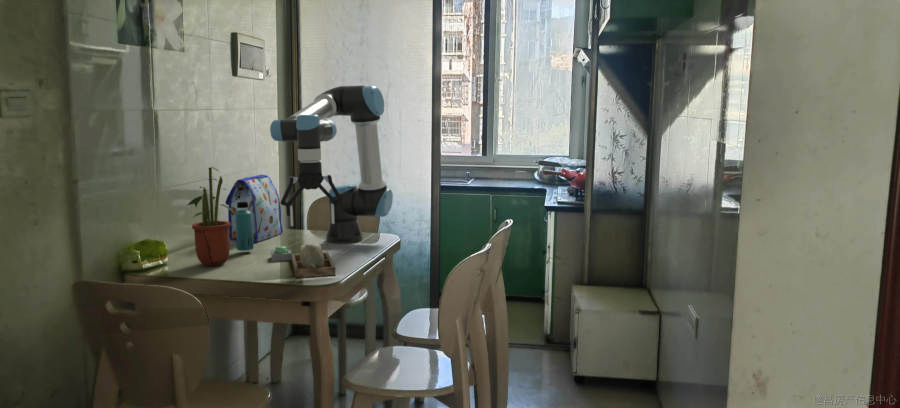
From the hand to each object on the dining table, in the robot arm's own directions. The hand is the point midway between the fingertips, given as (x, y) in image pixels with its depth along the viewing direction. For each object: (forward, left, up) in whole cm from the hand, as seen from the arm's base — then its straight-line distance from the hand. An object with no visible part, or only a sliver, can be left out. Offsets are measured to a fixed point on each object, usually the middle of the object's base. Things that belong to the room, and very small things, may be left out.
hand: (312, 224), depth 234 cm
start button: (+10, -22, -15) cm, 29 cm away
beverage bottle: (+23, -42, -17) cm, 51 cm away
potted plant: (+33, -22, -17) cm, 43 cm away
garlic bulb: (+1, 0, -16) cm, 16 cm away
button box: (+10, -22, -17) cm, 29 cm away
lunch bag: (+19, -73, -17) cm, 77 cm away
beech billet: (0, -12, -16) cm, 20 cm away
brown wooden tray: (0, -6, -17) cm, 18 cm away
